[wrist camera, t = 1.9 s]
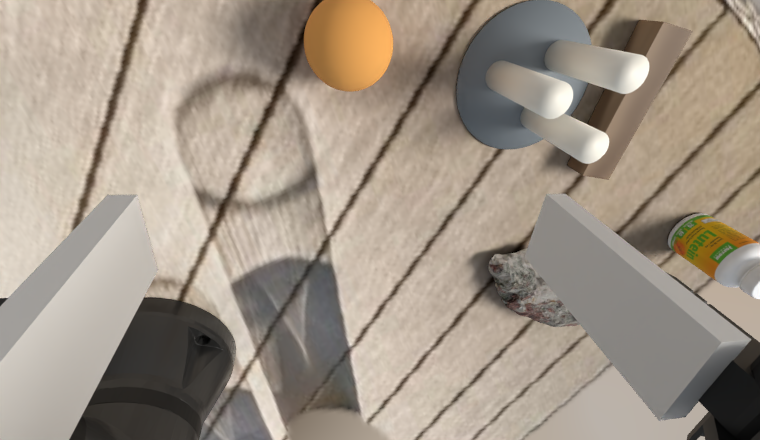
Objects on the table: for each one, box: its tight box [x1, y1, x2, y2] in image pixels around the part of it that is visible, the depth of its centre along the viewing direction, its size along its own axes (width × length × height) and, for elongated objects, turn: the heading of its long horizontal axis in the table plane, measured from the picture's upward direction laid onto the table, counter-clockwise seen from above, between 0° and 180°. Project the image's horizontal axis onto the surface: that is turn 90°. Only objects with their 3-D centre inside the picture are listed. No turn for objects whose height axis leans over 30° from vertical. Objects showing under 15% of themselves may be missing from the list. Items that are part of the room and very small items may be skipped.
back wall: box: [567, 20, 693, 180], centre depth 33 cm, size 3×13×2 cm, turn 167°
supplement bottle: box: [668, 213, 760, 299], centre depth 41 cm, size 5×5×10 cm
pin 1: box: [544, 40, 649, 94], centre depth 28 cm, size 2×2×8 cm
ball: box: [304, 0, 393, 91], centre depth 25 cm, size 6×6×6 cm
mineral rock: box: [488, 248, 580, 327], centre depth 43 cm, size 15×8×4 cm, turn 35°
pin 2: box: [520, 108, 609, 164], centre depth 30 cm, size 2×2×8 cm
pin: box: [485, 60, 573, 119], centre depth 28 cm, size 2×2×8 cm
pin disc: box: [456, 0, 591, 149], centre depth 32 cm, size 12×12×1 cm
